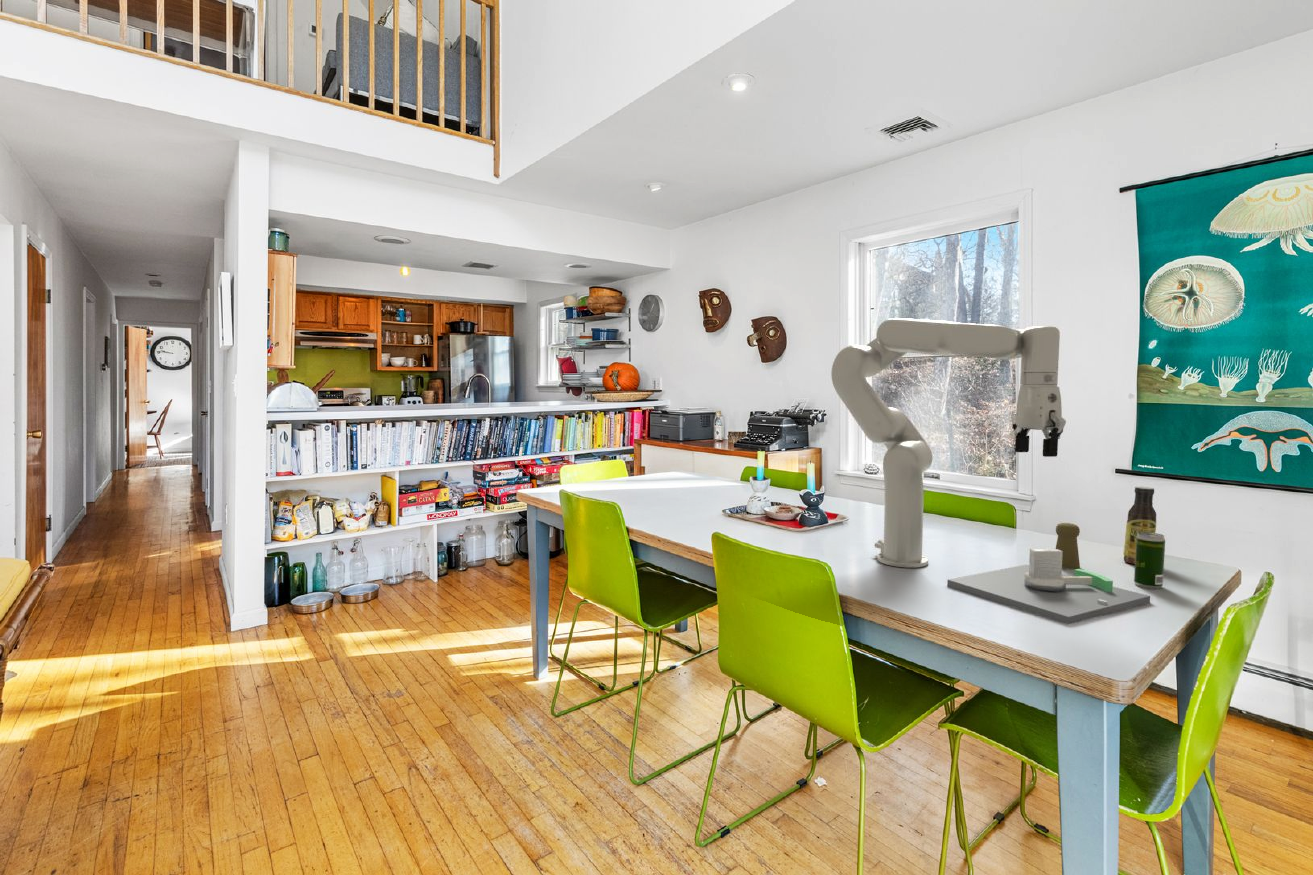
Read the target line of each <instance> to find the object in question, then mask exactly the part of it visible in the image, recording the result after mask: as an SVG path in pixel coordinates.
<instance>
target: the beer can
mask: <svg viewBox="0 0 1313 875" xmlns="http://www.w3.org/2000/svg"><path fill="white" fill-rule="evenodd" d="M1165 549H1166V539H1165V535H1164V534H1162V533H1158V532H1155V533H1150V532H1139V533H1138V535H1137V537H1136V554H1135V564H1134V577H1133V582H1134V584H1135V585H1136V586H1137V587H1141V588H1146V589H1151V590H1159V589H1161V588H1162V587H1163V585H1164V571H1165V570H1164V568H1165V553H1166V550H1165Z"/></svg>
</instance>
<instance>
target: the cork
mask: <svg viewBox="0 0 1313 875" xmlns="http://www.w3.org/2000/svg"><path fill="white" fill-rule="evenodd" d="M1080 531H1081V530H1080V527H1079V525H1077V524H1074V523H1071V522H1070V523H1069V522H1060V523H1058V524H1056V526H1055V533H1056V535H1057V540H1056V544H1055V549H1058V550H1061V551H1063V554H1062V569H1065V570H1075V569H1081V566H1080V564H1081V563H1080V554H1079V553H1080V552H1079V547H1078V544H1079V543H1078V536H1079V535H1080Z"/></svg>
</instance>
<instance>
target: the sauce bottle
mask: <svg viewBox="0 0 1313 875" xmlns="http://www.w3.org/2000/svg"><path fill="white" fill-rule="evenodd" d="M1134 493H1135V494H1134V495H1135V496H1134V502H1133V503H1134V504H1133V505H1132V506H1131V508H1130V509H1129V510H1128V511H1127V520H1126V524H1125V526H1126V527H1125V534H1124V535H1125V536H1124V544H1123V561H1124V562H1125V563H1128V564H1132V565H1135V554H1136V537H1137V535H1138V533H1139V532H1150V533H1157V532H1156V530H1157V512H1156V510H1155V509H1154V506H1153V504H1154V503H1153V500H1154V494H1155V488H1153V487H1149V486H1135V487H1134Z"/></svg>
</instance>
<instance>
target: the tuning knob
mask: <svg viewBox="0 0 1313 875" xmlns="http://www.w3.org/2000/svg"><path fill="white" fill-rule="evenodd" d="M1062 554H1063V551H1061V550H1058V549H1056V548H1030V549H1029V562H1028V563H1029V564H1028V565H1029V572H1027V573H1025V574H1024V584H1025V585H1026V586H1028V587H1031V588H1034V589H1039V590H1045V591H1063V590H1065V589H1066V585H1092V579H1093V578H1092V577H1090V576H1073V575H1069V576H1062V574H1063V573H1062V571H1063V568H1062Z"/></svg>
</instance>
